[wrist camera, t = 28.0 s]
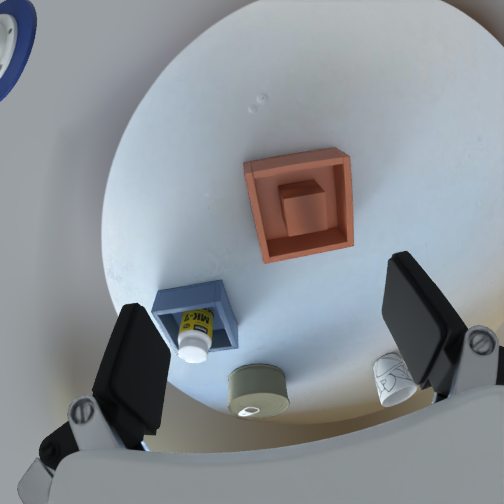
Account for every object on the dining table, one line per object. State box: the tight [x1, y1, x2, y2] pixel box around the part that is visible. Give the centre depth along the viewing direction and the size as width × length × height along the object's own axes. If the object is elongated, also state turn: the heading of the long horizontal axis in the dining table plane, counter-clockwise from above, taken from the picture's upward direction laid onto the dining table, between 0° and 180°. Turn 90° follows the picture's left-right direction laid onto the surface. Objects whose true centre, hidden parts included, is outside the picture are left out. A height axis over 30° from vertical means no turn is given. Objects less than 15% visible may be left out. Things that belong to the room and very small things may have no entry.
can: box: [228, 364, 290, 419], centre depth 51 cm, size 12×12×7 cm
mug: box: [374, 353, 417, 406], centre depth 51 cm, size 11×8×10 cm
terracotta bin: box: [243, 148, 354, 264], centre depth 32 cm, size 11×11×5 cm
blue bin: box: [151, 280, 238, 355], centre depth 40 cm, size 10×10×5 cm
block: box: [278, 179, 328, 237], centre depth 31 cm, size 4×4×4 cm
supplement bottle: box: [178, 307, 214, 363], centre depth 38 cm, size 5×5×8 cm
